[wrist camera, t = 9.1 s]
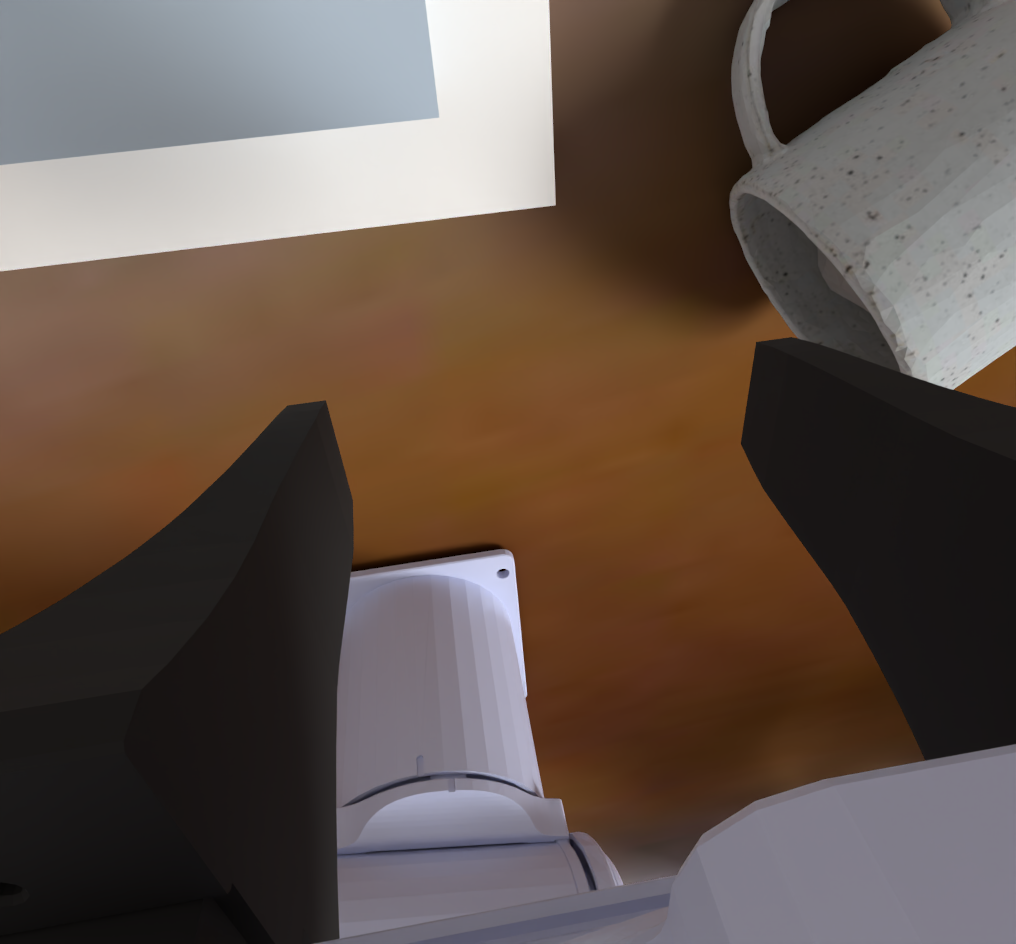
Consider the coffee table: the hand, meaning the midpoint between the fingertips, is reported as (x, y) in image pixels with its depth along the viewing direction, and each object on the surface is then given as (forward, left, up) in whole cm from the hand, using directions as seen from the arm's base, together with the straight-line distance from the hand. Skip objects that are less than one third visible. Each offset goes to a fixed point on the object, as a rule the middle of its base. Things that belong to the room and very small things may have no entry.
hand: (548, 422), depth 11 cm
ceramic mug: (+1, -11, -11) cm, 15 cm away
